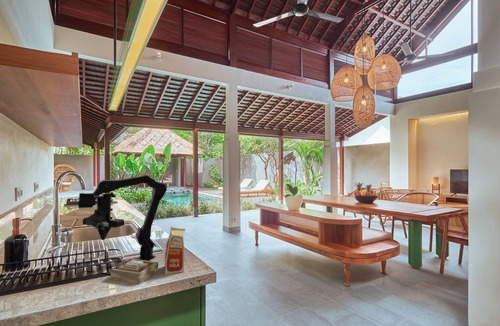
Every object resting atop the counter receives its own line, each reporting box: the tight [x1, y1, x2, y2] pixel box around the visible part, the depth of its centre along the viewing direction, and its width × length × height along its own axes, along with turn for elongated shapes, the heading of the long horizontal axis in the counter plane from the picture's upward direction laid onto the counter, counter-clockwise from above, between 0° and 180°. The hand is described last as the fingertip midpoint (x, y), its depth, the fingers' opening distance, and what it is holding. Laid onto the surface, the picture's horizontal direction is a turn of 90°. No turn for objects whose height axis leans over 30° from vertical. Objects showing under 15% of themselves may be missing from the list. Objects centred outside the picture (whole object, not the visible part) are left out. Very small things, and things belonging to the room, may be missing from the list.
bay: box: [110, 258, 159, 284], centre depth 115 cm, size 13×14×4 cm
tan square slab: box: [116, 258, 148, 273], centre depth 115 cm, size 8×10×5 cm
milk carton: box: [164, 226, 186, 275], centre depth 123 cm, size 9×9×20 cm
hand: (103, 239), depth 124 cm, fingers closed
